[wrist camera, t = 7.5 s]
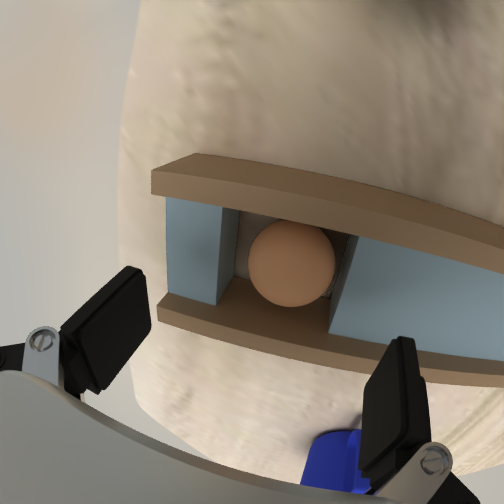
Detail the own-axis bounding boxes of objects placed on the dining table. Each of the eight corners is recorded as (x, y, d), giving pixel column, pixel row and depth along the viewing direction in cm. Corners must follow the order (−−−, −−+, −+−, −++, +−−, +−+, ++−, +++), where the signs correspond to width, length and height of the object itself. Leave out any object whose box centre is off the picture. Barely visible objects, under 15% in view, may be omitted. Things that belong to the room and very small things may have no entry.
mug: (406, 407, 23) (410, 500, 14) (363, 458, 29) (355, 528, 20) (325, 397, 24) (309, 497, 16) (299, 450, 30) (282, 522, 21)
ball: (269, 200, 18) (347, 219, 17) (259, 268, 20) (328, 288, 19) (238, 227, 14) (341, 254, 13) (230, 308, 16) (315, 335, 15)
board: (550, 246, 13) (585, 281, 9) (499, 344, 18) (517, 387, 13) (195, 153, 18) (151, 170, 13) (190, 279, 22) (157, 320, 18)
